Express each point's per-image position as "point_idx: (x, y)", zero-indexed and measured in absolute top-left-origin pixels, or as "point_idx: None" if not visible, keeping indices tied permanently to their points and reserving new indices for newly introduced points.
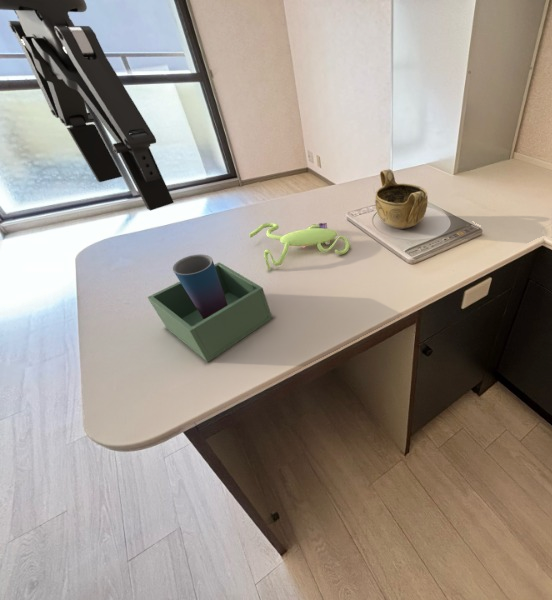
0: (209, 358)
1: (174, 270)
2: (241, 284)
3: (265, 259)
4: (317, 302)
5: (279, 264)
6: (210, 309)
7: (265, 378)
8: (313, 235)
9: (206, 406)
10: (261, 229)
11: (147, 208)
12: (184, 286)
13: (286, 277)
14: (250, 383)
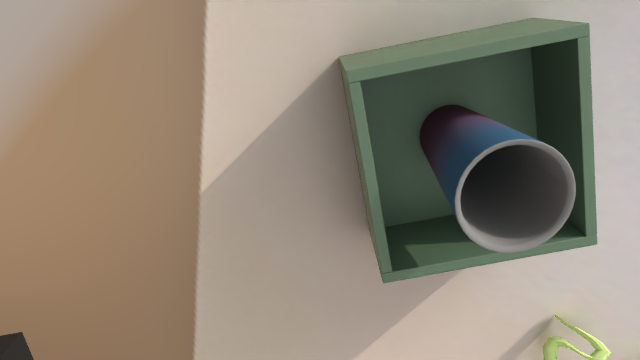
0: (340, 65)
1: (523, 142)
2: (470, 244)
3: (582, 332)
4: (344, 336)
5: (543, 346)
6: (433, 140)
7: (203, 136)
8: None
9: (214, 7)
10: None
11: (11, 335)
12: (484, 131)
13: (491, 330)
14: (211, 106)
